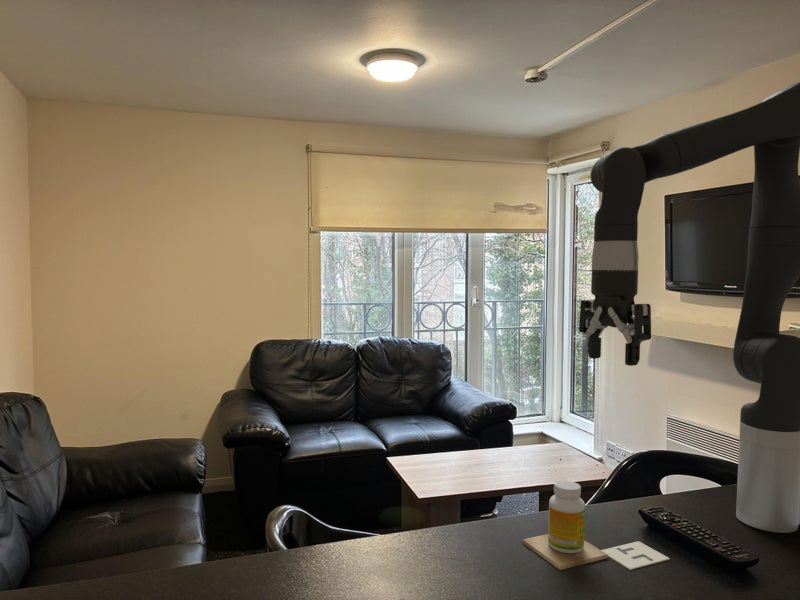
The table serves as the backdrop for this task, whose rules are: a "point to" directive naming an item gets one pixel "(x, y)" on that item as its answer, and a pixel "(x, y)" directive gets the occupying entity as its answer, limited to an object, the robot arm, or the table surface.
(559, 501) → the supplement bottle
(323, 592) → the table surface
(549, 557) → the oak coaster
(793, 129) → the robot arm
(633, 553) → the tile
